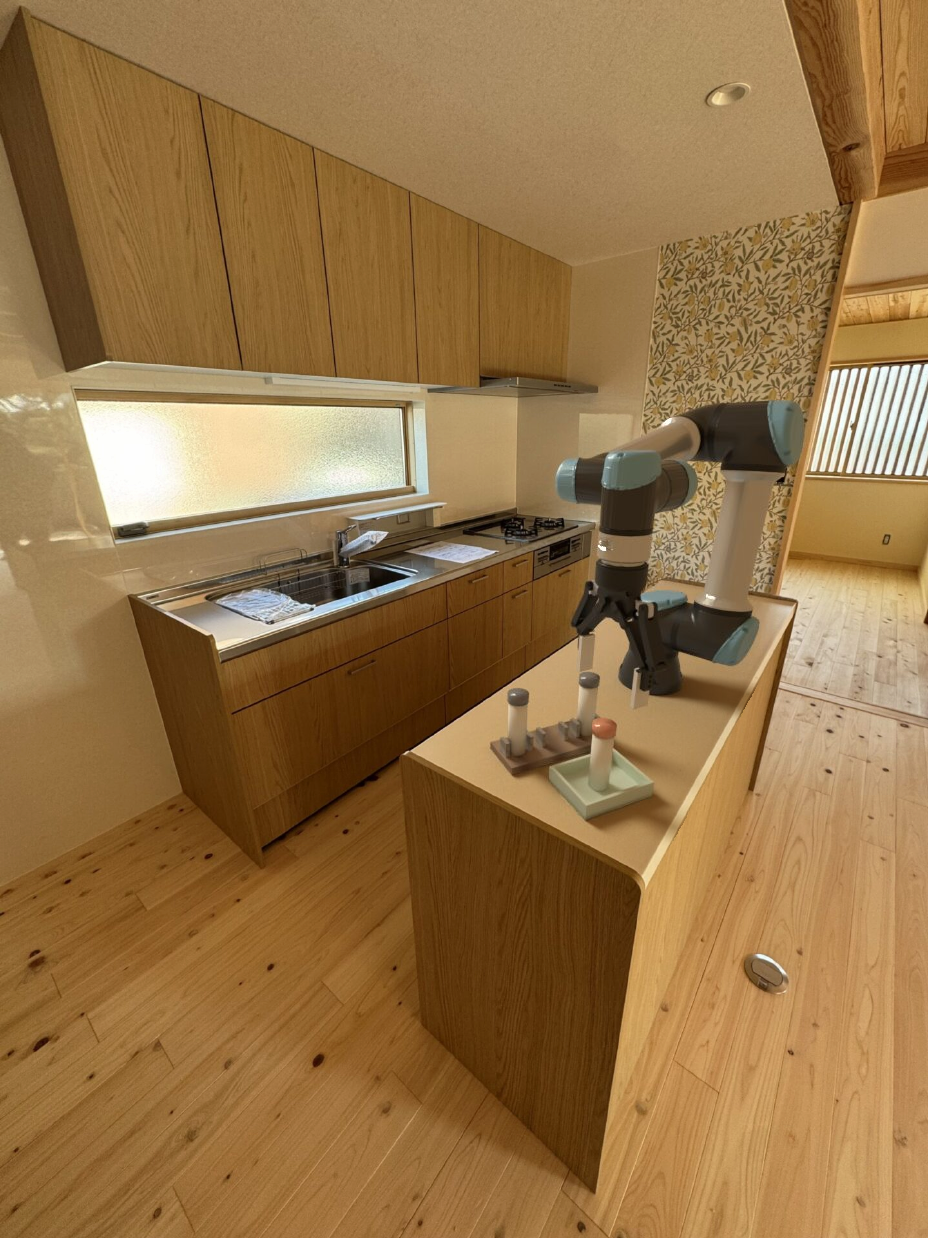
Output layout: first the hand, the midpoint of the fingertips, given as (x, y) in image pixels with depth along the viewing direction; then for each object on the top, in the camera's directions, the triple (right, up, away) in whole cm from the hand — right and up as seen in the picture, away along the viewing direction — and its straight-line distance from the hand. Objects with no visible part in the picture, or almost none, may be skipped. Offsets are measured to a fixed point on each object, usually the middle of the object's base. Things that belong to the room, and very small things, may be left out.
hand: (609, 686), depth 81 cm
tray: (0, -19, +7) cm, 20 cm away
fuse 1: (-14, -14, +15) cm, 25 cm away
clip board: (-6, -15, +19) cm, 25 cm away
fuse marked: (0, -18, +7) cm, 20 cm away
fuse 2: (+1, -12, +21) cm, 24 cm away
